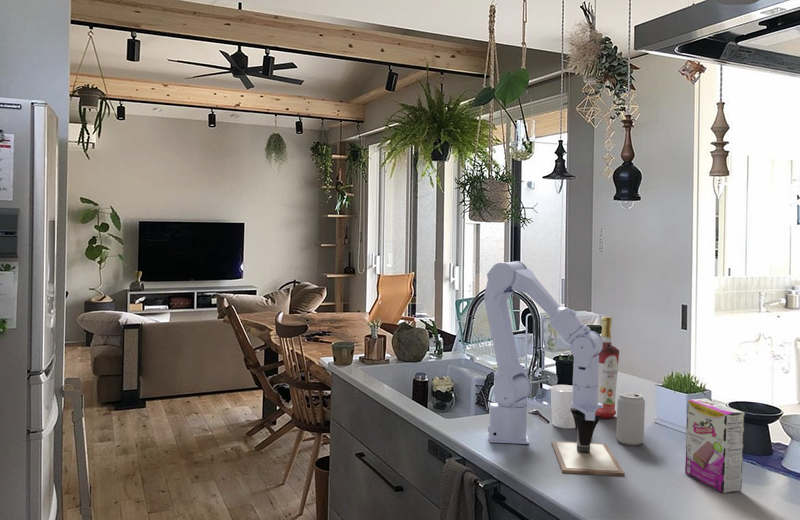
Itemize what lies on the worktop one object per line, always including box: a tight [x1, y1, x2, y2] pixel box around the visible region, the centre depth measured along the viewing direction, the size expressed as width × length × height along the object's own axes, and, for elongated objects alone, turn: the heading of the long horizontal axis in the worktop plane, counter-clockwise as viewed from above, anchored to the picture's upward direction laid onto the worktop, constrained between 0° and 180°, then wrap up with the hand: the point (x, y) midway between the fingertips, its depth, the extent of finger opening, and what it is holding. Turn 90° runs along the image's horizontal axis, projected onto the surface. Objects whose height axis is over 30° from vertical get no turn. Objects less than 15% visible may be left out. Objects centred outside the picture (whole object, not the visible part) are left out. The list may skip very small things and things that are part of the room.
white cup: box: [550, 384, 576, 430], centre depth 174 cm, size 8×8×10 cm
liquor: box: [594, 316, 620, 420], centre depth 182 cm, size 7×7×28 cm
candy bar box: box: [684, 398, 746, 494], centre depth 135 cm, size 11×5×16 cm, turn 17°
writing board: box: [550, 440, 626, 477], centre depth 149 cm, size 13×19×1 cm
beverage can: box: [615, 391, 646, 447], centre depth 160 cm, size 6×6×12 cm
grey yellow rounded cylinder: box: [576, 427, 590, 453], centre depth 151 cm, size 3×3×7 cm
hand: (583, 442), depth 151 cm, fingers closed on grey yellow rounded cylinder, 3 cm apart
